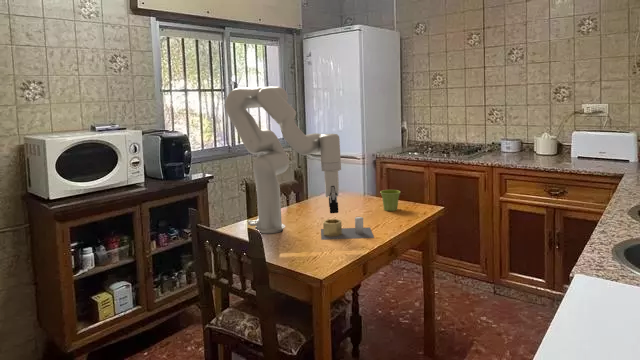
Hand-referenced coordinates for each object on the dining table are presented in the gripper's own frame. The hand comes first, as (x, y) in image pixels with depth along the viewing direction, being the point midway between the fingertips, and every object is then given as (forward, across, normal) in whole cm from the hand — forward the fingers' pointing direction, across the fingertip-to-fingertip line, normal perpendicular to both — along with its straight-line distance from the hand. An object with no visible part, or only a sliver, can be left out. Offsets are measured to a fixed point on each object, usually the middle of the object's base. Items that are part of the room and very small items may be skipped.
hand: (333, 209), depth 197 cm
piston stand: (+11, 0, +4) cm, 12 cm away
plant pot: (+11, -40, +28) cm, 49 cm away
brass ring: (+10, 0, -1) cm, 10 cm away
